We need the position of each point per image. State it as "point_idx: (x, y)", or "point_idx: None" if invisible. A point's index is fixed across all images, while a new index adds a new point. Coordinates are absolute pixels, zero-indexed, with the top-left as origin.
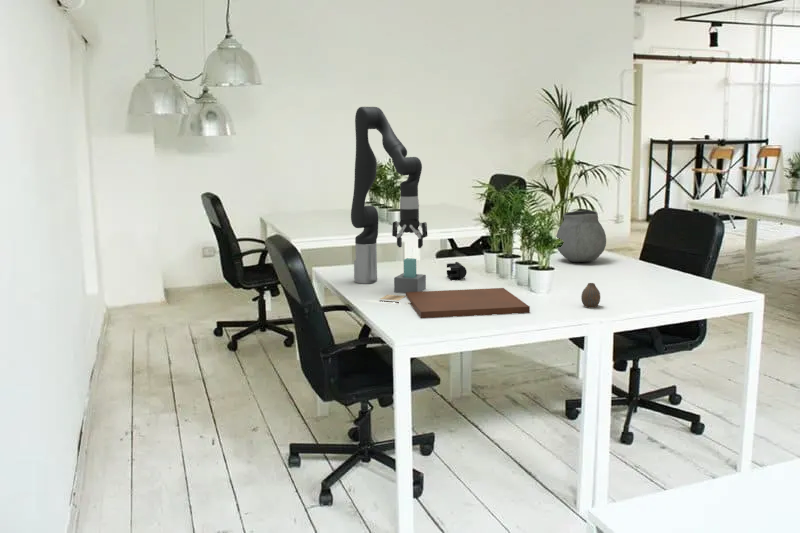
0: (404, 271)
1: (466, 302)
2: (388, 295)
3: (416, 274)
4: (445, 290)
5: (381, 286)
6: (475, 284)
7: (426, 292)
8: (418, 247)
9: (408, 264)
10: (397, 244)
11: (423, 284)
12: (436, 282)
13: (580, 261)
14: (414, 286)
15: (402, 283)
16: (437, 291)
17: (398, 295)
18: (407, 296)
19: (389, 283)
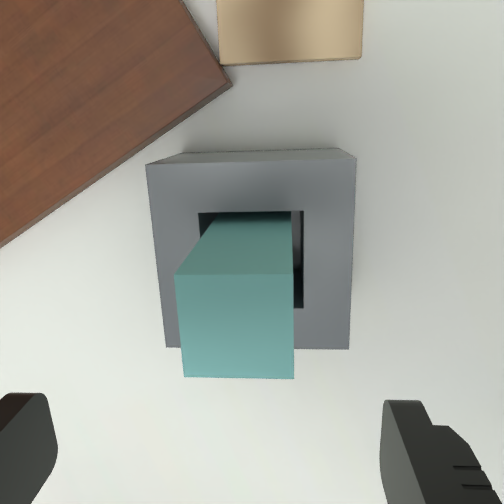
0: (284, 235)
1: None
2: (343, 31)
3: None
4: (19, 225)
5: (495, 337)
6: (41, 498)
7: (95, 127)
8: (27, 393)
9: (236, 257)
10: (456, 443)
11: None
12: (229, 495)
13: None
14: (185, 157)
15: (279, 156)
16: (48, 182)
17: (275, 59)
18: (187, 13)
19: (469, 419)
